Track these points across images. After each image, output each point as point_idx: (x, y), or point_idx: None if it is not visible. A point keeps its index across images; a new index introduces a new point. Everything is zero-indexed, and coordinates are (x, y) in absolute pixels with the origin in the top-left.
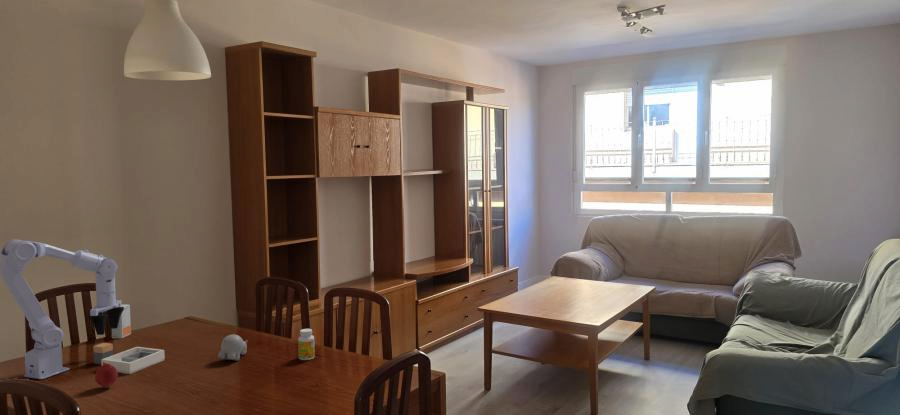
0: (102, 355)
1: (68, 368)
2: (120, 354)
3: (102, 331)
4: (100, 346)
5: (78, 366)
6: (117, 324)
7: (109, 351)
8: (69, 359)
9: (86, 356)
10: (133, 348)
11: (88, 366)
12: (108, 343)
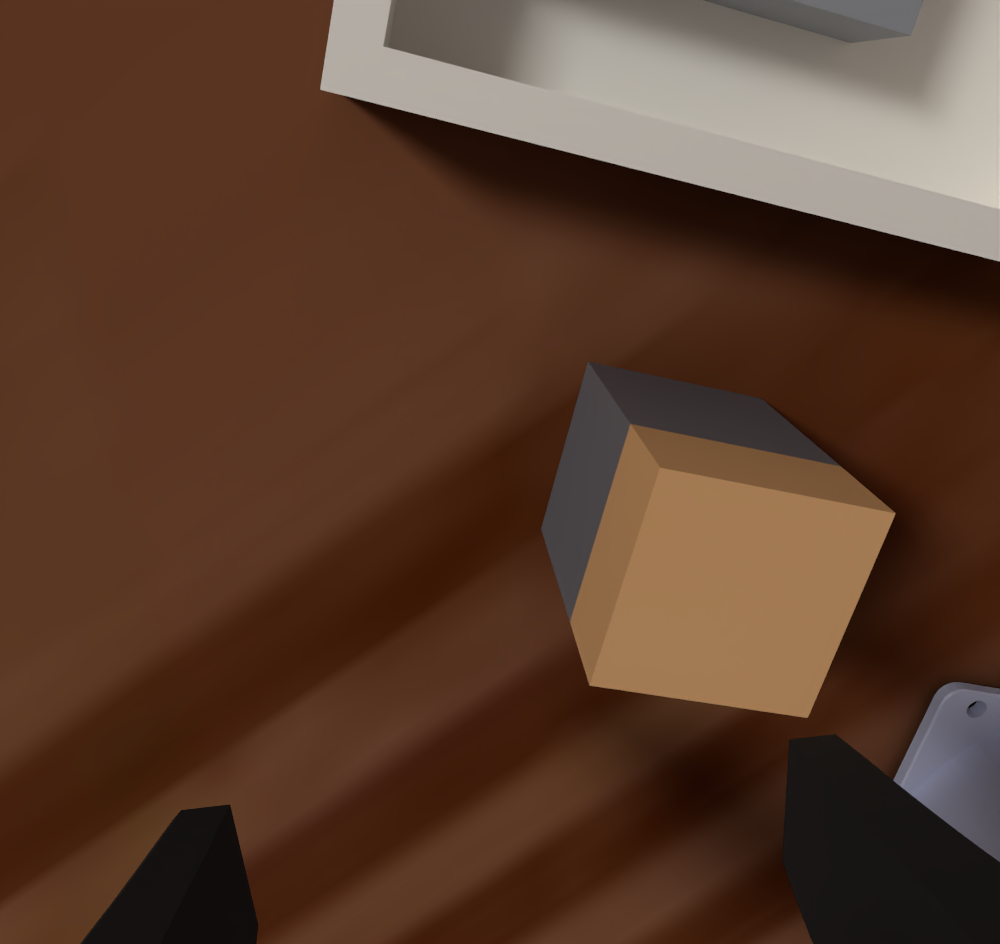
0: (821, 457)
1: (966, 694)
2: (784, 153)
3: (898, 796)
4: (835, 586)
5: None
6: (180, 874)
7: (702, 436)
8: (553, 930)
9: (426, 838)
10: (451, 88)
11: None
12: (634, 571)
